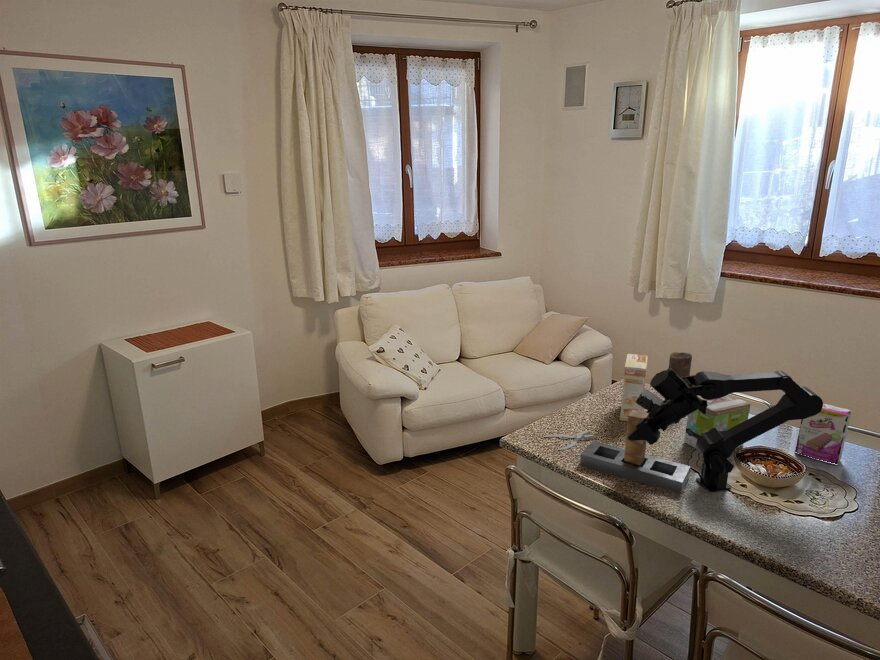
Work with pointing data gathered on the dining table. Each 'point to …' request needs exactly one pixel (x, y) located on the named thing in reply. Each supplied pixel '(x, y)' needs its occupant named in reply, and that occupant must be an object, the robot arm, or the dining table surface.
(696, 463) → the dining table surface
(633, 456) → the peg
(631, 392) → the coffeecake box
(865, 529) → the dining table surface
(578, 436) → the pliers
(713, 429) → the robot arm
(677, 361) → the candle
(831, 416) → the candy bar box
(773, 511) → the dining table surface
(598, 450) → the grey long block
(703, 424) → the tea box
